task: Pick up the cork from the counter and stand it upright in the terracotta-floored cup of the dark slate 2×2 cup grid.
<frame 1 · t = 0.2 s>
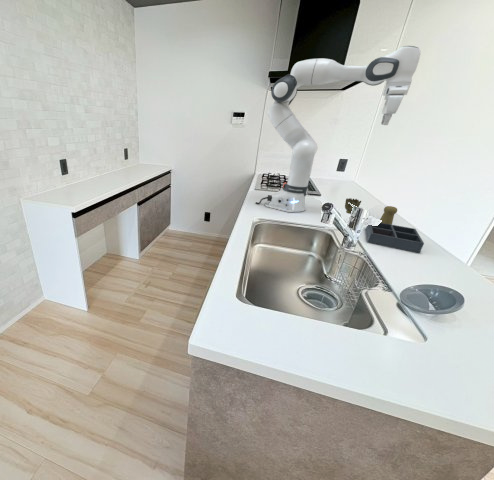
hand: (384, 124, 121), 47 cm above the countertop, tool pointing down, fingers open, 8 cm apart
grid: (389, 240, 118), on the countertop
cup: (349, 213, 150), on the countertop
cork: (383, 227, 132), on the countertop
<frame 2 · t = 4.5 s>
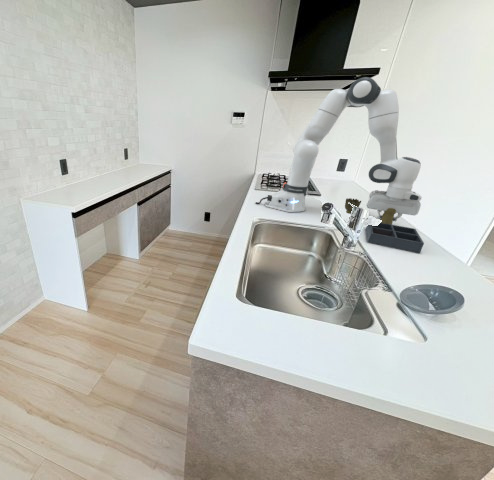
hand: (386, 219, 130), 4 cm above the countertop, tool pointing down, fingers closed on cork, 4 cm apart
cork: (383, 227, 132), on the countertop, touching gripper
everything else where it was.
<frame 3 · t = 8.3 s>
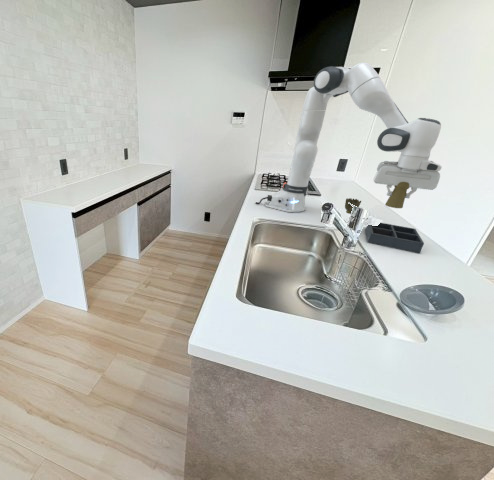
hand: (397, 196, 109), 20 cm above the countertop, tool pointing down, fingers closed on cork, 4 cm apart
cork: (393, 206, 111), point 16 cm above the countertop, touching gripper
everything else where it was.
when the fingers open (5 cm above the countertop, at t = 12.2 s): cork stays where it is, resting on grid.
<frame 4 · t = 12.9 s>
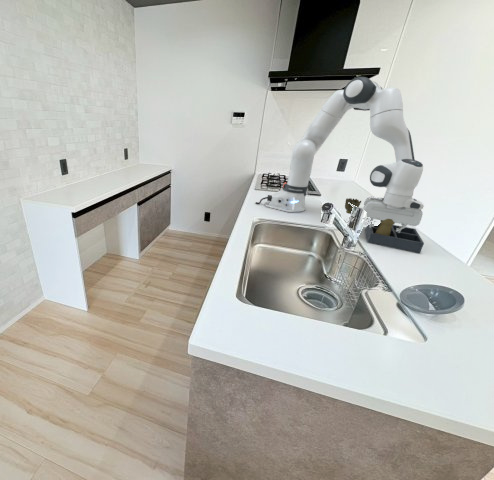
hand: (383, 230, 114), 6 cm above the countertop, tool pointing down, fingers open, 8 cm apart
cork: (379, 239, 117), point 1 cm above the countertop, touching grid
everything else where it was.
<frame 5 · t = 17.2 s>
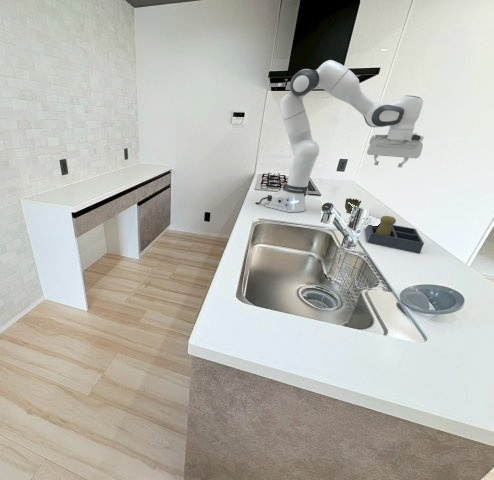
hand: (387, 166, 126), 29 cm above the countertop, tool pointing down, fingers open, 8 cm apart
nothing on the countertop moved.
at the end: cork 0.1 cm from the target spot in the grid, point 0.6 cm above the grid's base; cork tilted 0°; the gripper is holding nothing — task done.
